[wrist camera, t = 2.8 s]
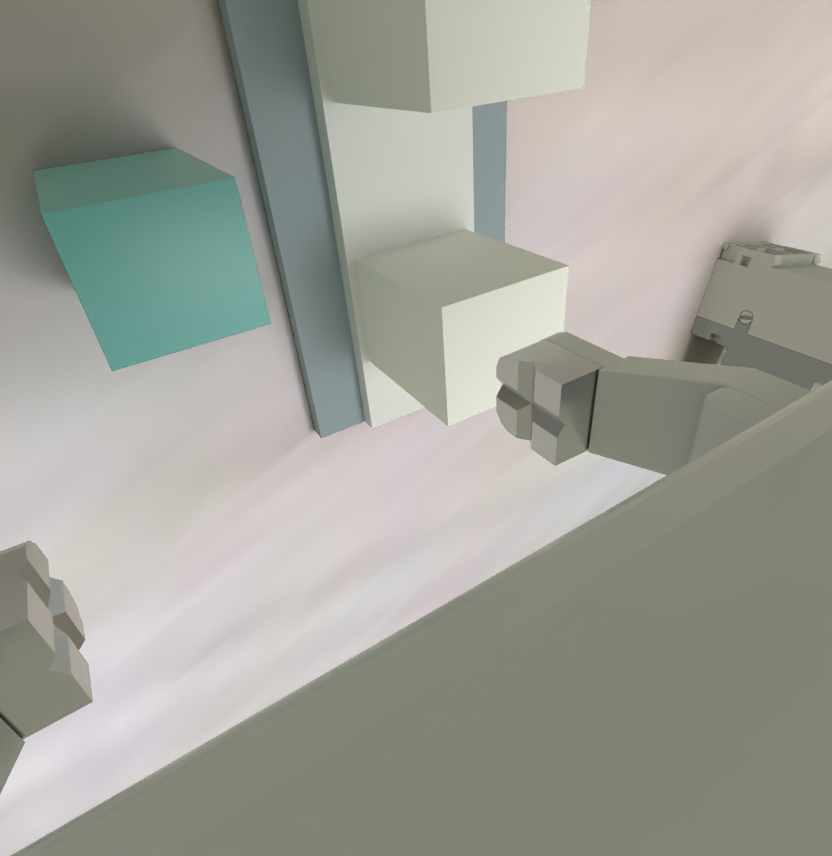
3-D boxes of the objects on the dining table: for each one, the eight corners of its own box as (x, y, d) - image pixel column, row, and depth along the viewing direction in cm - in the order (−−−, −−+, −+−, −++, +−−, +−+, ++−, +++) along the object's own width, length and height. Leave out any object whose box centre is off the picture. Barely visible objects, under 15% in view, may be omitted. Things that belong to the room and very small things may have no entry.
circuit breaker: (669, 391, 55) (828, 470, 44) (723, 243, 48) (927, 293, 37) (713, 381, 59) (870, 452, 48) (769, 242, 52) (967, 288, 41)
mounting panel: (161, -250, 19) (255, -449, 11) (496, -214, 24) (703, -334, 17) (315, 430, 35) (393, 525, 28) (493, 360, 40) (598, 424, 33)
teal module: (32, 170, 22) (40, 214, 15) (175, 147, 24) (234, 177, 18) (86, 292, 25) (111, 371, 18) (209, 261, 27) (271, 323, 20)
